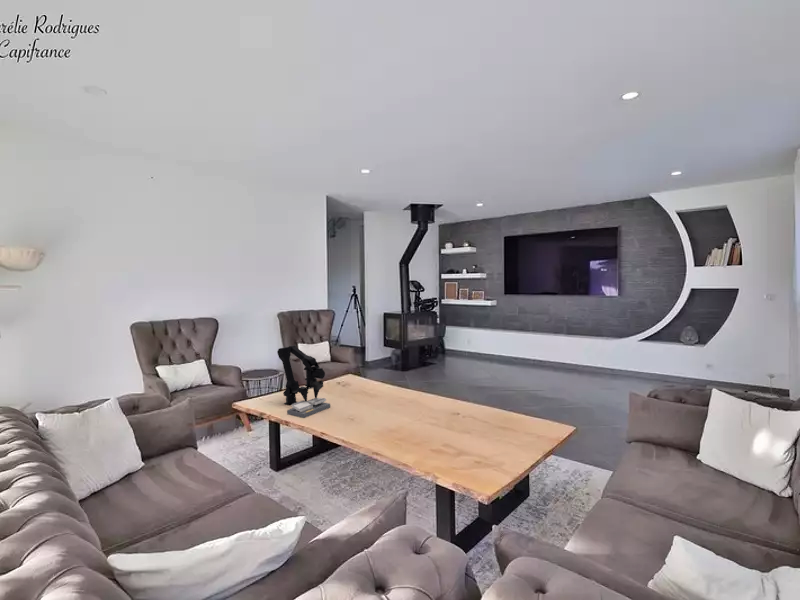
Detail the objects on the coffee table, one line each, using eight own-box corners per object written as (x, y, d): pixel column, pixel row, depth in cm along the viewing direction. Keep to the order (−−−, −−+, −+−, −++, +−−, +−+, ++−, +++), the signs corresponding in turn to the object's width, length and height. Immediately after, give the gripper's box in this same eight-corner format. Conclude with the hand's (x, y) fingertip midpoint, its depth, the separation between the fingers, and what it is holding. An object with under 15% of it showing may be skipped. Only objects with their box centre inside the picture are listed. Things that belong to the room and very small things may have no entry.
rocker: (305, 404, 267) (305, 401, 267) (316, 400, 275) (315, 397, 275) (315, 405, 262) (315, 402, 262) (325, 400, 271) (325, 398, 271)
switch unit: (287, 414, 258) (286, 408, 258) (314, 404, 278) (313, 399, 278) (304, 418, 250) (303, 412, 250) (330, 407, 270) (330, 402, 270)
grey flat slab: (291, 406, 257) (291, 404, 257) (302, 402, 265) (303, 400, 265) (301, 412, 252) (301, 410, 252) (312, 408, 261) (313, 405, 260)
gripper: (309, 381, 258) (309, 405, 259) (329, 375, 274) (329, 398, 275) (296, 379, 264) (297, 402, 265) (317, 373, 280) (317, 395, 281)
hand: (311, 399), depth 271 cm, fingers open, 9 cm apart
